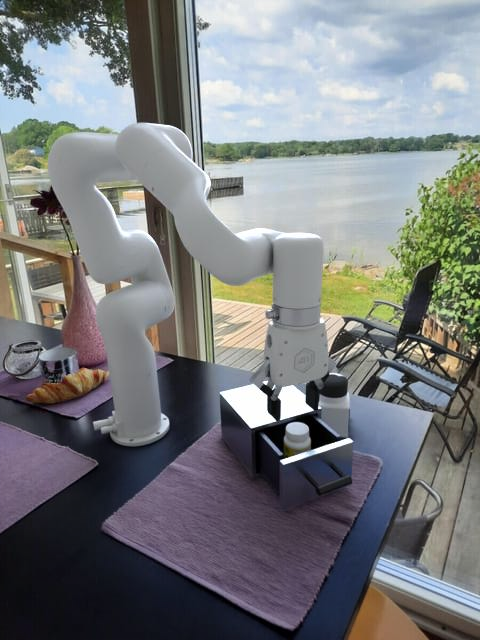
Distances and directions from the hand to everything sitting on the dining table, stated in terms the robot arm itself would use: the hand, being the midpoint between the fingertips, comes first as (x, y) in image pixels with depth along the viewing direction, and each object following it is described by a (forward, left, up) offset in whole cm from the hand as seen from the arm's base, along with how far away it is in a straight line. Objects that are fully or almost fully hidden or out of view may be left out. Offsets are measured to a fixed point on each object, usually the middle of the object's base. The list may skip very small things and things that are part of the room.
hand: (293, 411), depth 75 cm
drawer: (0, -3, -13) cm, 13 cm away
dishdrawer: (0, +10, -13) cm, 17 cm away
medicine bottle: (+15, +10, -14) cm, 23 cm away
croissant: (-34, +53, -14) cm, 64 cm away
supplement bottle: (0, -1, -12) cm, 12 cm away
